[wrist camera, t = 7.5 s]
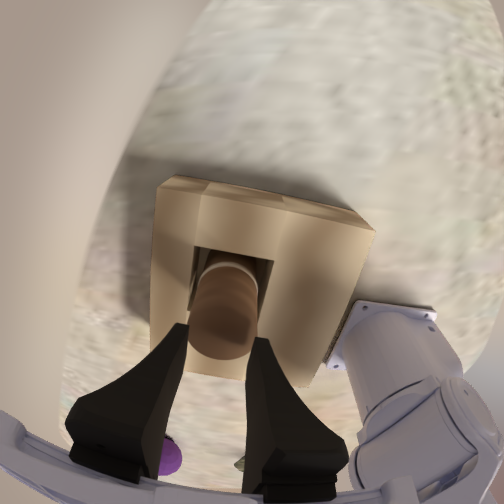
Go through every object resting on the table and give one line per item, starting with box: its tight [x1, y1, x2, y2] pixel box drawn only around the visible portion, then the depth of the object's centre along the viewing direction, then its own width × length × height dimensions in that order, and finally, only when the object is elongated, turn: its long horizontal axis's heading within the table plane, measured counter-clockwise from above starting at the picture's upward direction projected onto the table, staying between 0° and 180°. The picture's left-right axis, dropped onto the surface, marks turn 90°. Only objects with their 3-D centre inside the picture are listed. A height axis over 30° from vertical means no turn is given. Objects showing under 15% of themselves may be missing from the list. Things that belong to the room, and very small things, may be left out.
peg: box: [187, 249, 258, 360], centre depth 18 cm, size 4×4×8 cm
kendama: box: [158, 438, 182, 476], centre depth 35 cm, size 6×6×20 cm
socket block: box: [150, 175, 376, 388], centre depth 21 cm, size 13×14×4 cm
